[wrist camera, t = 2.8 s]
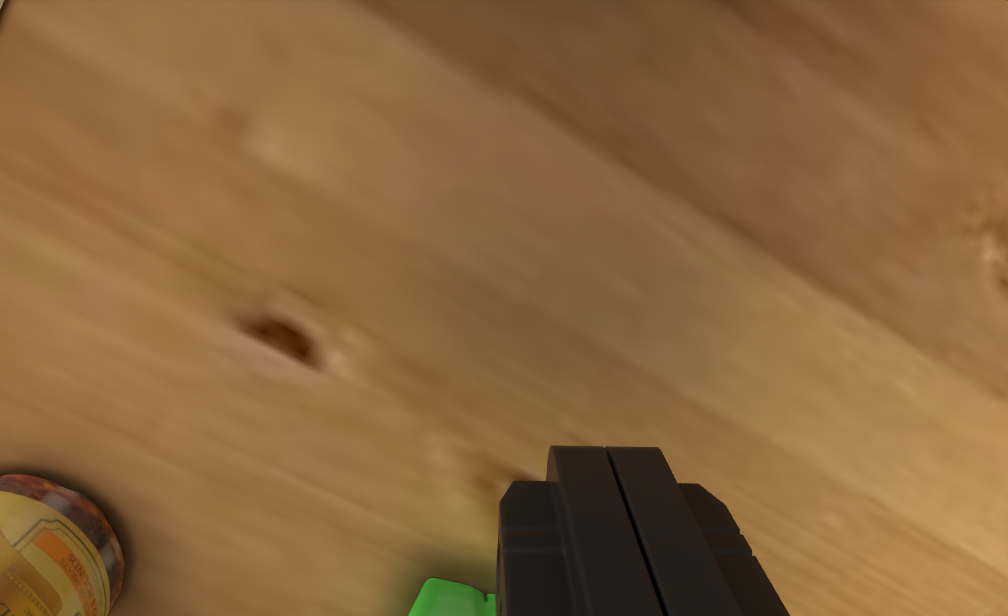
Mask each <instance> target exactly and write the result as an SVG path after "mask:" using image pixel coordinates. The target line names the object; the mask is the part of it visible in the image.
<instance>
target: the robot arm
mask: <svg viewBox="0 0 1008 616" xmlns="http://www.w3.org/2000/svg"><path fill="white" fill-rule="evenodd" d="M495 602H496V616H790V615H789V613H788V611H787V610H786V608H785V606H784V605H783V603H782V601H781V599H780V598H779V596H778V594H777V593H776V591H775V589H774V587H773V586H772V584H771V582H770V581H769V579H768V577H767V575H766V574H765V572H764V570H763V569H762V567H761V565H760V563H759V562H758V560H757V558H756V557H755V556H752V550H751V548H750V546H749V545H748V543H747V541H746V539H745V538H744V536H743V535H740V529H739V527H738V526H737V524H736V522H735V521H734V519H733V517H732V515H731V514H730V512H729V510H728V509H727V507H726V505H725V504H724V503H722V502H721V501H720V500H718V499H717V498H716V497H715V496H713V495H712V494H711V493H709V492H708V491H707V490H706V489H704V488H703V487H702V486H700V485H699V484H691V483H677V481H676V479H675V477H674V475H673V473H672V471H671V469H670V467H669V465H668V463H667V461H666V459H665V457H664V455H663V453H662V451H661V450H660V449H659V448H657V447H611V446H606V447H605V448H604V447H602V446H550V449H549V454H548V463H547V477H546V481H513V483H512V484H511V486H510V487H509V489H508V490H507V492H506V493H505V495H504V496H503V498H502V499H501V501H500V508H499V529H498V550H497V571H496V592H495Z"/></svg>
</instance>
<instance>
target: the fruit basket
mask: <svg viewBox="0 0 1008 616" xmlns="http://www.w3.org/2000/svg"><path fill="white" fill-rule="evenodd" d="M408 616H496V602H495V594H487V595H483V593H482V592H481V591H479V590H476V589H474V588H473V587H471V586H468V585H464V584H460V583H456V582H451V581H447V580H442V579H438V578H430V579H428V580H427V581H426V582H425V584H424V585H423V587H422V589H421V591H420V593H419V595H418V597H417V599H416V601H415V603H414V605H413V607H412V609H411V611H410V613H409V615H408Z"/></svg>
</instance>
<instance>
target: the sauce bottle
mask: <svg viewBox="0 0 1008 616" xmlns="http://www.w3.org/2000/svg"><path fill="white" fill-rule="evenodd" d="M124 569H125V562H124V560H123V556H122V549H121V547H120V545H119V542H118V539H117V537H116V535H115V533H114V532H113V530H112V527H111V526H110V525H108V523H107V521H106V519H105V516H104V513H103V512H102V511H101V510H100V509H99V508H98V506H97V505H96V504H95V503H94V502H93V501H91V500H90V499H88V498H87V497H85V496H84V495H83V494H82V493H79V492H76V491H74V490H70V489H66V488H64V487H63V486H61V485H59V484H58V483H55V482H52V481H49V480H46V479H44V478H42V477H37V476H30V475H24V474H10V475H2V476H0V616H108V614H109V611H110V609H111V608H112V604H113V603H114V601H115V599H116V598H117V597H118V595H119V593H120V591H121V586H122V583H123V577H122V575H123V573H124Z"/></svg>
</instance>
